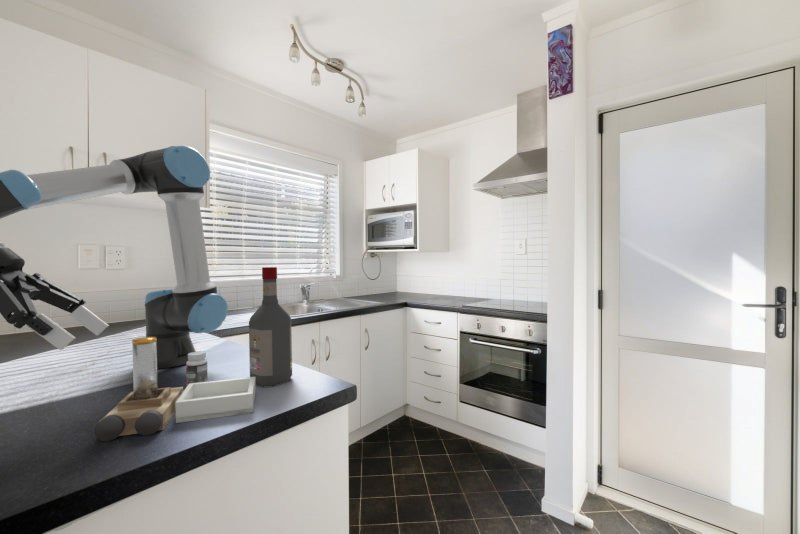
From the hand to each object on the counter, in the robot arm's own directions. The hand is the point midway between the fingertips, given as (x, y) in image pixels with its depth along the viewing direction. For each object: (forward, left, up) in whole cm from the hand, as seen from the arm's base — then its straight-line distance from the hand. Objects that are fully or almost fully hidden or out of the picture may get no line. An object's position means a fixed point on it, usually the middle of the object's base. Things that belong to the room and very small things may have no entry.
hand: (87, 336), depth 71 cm
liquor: (-15, +33, -17) cm, 41 cm away
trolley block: (0, +9, -17) cm, 20 cm away
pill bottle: (-18, +15, -17) cm, 30 cm away
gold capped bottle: (0, +9, -14) cm, 17 cm away
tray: (-1, +23, -17) cm, 29 cm away
